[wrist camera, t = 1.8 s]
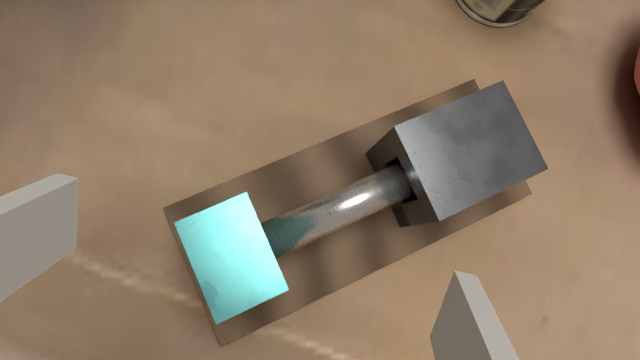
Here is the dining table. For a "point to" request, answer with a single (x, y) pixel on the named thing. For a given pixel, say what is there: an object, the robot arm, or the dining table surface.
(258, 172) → the walnut board
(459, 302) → the robot arm
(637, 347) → the dining table surface
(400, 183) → the shaft
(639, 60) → the cell model
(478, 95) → the bearing block
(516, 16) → the coffee can
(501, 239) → the dining table surface
